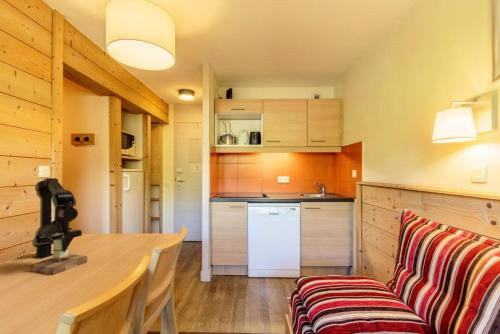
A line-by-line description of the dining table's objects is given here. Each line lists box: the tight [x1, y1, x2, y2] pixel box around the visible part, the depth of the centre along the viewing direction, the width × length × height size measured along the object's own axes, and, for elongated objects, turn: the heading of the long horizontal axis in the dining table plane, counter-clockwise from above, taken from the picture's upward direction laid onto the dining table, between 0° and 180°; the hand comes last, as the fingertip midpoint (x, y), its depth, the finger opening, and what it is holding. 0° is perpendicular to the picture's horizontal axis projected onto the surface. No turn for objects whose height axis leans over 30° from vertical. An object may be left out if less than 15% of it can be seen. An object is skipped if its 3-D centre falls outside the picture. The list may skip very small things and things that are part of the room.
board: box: [30, 253, 88, 276], centre depth 113 cm, size 14×16×3 cm
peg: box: [52, 239, 69, 258], centre depth 114 cm, size 4×4×8 cm
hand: (60, 250), depth 114 cm, fingers closed on peg, 4 cm apart
